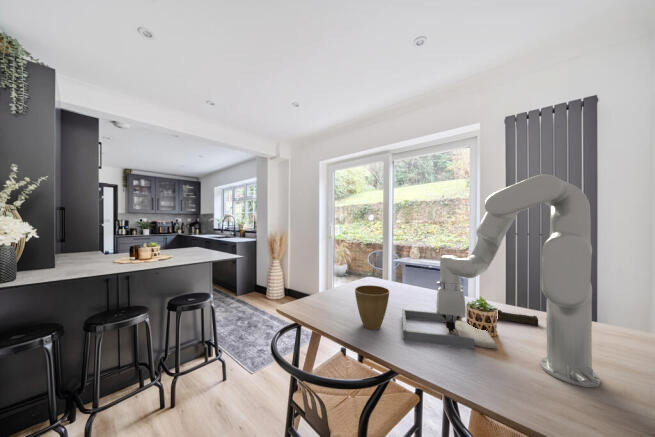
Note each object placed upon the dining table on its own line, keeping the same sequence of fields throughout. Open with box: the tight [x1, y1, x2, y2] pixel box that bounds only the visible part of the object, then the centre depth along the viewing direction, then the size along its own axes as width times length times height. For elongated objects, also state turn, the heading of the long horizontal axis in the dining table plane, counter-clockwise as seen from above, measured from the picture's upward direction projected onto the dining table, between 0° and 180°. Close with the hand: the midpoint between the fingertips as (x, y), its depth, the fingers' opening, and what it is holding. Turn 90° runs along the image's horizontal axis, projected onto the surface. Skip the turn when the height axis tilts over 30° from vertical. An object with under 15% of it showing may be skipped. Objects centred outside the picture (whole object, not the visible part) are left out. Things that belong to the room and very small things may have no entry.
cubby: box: [401, 309, 475, 350], centre depth 99 cm, size 22×24×4 cm
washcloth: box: [454, 320, 497, 349], centre depth 94 cm, size 12×18×3 cm, turn 162°
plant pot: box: [354, 284, 390, 331], centre depth 104 cm, size 15×15×16 cm
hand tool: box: [497, 309, 539, 327], centre depth 107 cm, size 19×4×5 cm, turn 62°
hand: (450, 330), depth 97 cm, fingers closed
